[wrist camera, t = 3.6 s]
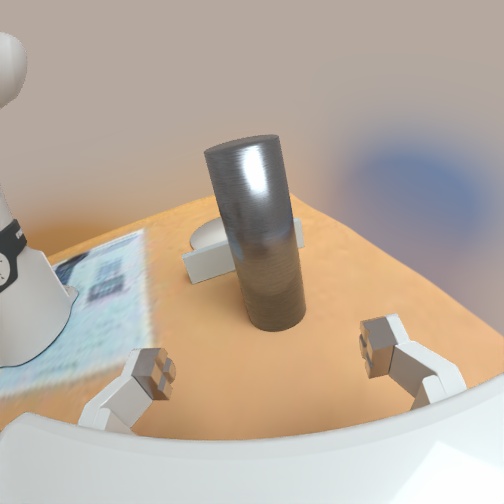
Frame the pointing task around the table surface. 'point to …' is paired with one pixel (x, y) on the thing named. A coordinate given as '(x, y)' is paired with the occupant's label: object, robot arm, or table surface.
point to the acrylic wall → (219, 258)
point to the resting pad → (208, 234)
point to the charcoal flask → (259, 228)
